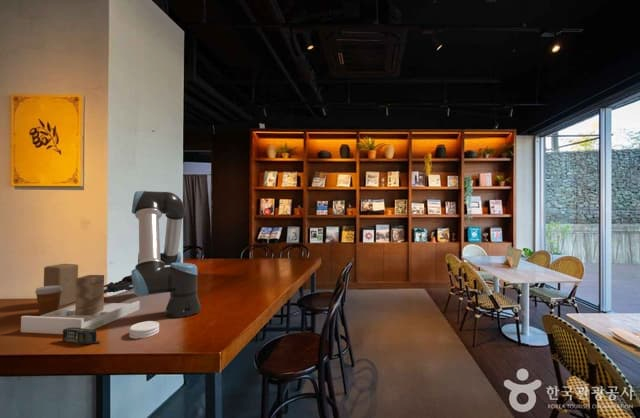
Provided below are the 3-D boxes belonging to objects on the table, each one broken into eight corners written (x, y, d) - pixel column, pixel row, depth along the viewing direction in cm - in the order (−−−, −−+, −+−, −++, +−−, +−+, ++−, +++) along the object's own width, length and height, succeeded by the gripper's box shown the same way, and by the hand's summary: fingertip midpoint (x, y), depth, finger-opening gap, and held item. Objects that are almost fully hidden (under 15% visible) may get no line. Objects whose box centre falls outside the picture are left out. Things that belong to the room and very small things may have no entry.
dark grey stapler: (60, 329, 105) (94, 331, 102) (69, 326, 108) (102, 328, 105) (60, 343, 105) (94, 346, 102) (69, 339, 108) (102, 342, 105)
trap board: (90, 307, 144) (91, 295, 144) (139, 309, 142) (139, 296, 142) (20, 332, 114) (21, 316, 114) (81, 335, 111) (81, 319, 111)
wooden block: (57, 307, 143) (58, 267, 144) (41, 306, 145) (43, 266, 146) (78, 301, 153) (79, 264, 154) (63, 300, 155) (64, 263, 156)
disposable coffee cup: (30, 317, 129) (31, 290, 129) (39, 311, 138) (39, 286, 138) (58, 314, 134) (59, 288, 134) (64, 308, 142) (65, 284, 142)
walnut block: (103, 310, 133) (104, 275, 133) (91, 315, 126) (92, 278, 126) (88, 309, 133) (89, 274, 133) (75, 315, 126) (76, 278, 126)
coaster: (140, 329, 118) (140, 320, 118) (164, 329, 117) (164, 320, 117) (122, 339, 108) (122, 329, 108) (148, 340, 107) (149, 330, 108)
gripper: (143, 289, 156) (106, 302, 132) (121, 288, 157) (81, 301, 134) (143, 275, 156) (107, 285, 132) (121, 274, 157) (81, 284, 134)
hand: (94, 293), depth 133 cm, fingers closed
